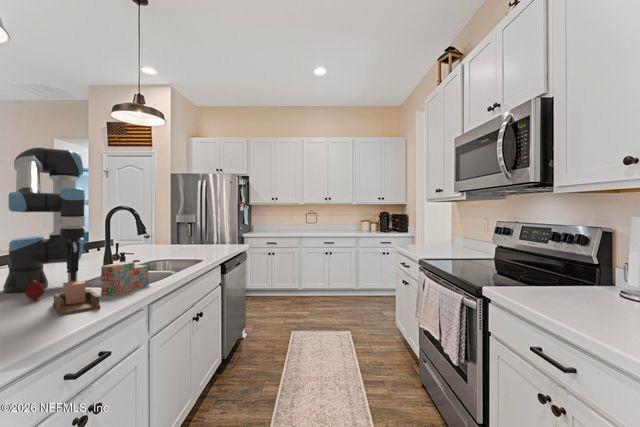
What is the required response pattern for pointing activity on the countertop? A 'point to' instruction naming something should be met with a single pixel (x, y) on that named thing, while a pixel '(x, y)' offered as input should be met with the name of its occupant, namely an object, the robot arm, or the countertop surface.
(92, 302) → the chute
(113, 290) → the stack of blocks
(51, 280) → the countertop surface
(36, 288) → the onion
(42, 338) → the countertop surface
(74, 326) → the countertop surface
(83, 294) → the block
